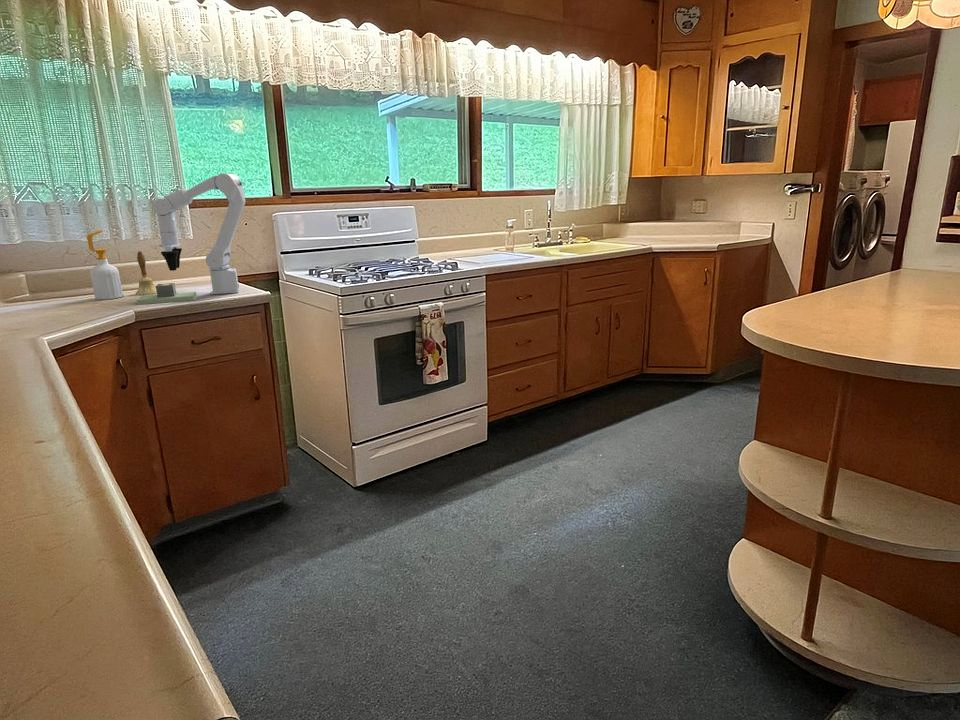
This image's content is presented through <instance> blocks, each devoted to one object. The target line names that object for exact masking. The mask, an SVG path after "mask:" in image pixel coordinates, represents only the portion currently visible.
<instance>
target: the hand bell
mask: <svg viewBox="0 0 960 720" xmlns="http://www.w3.org/2000/svg"><path fill="white" fill-rule="evenodd" d="M136 258H137V259H136V261H137V264H138V266H139V268H140V271H141V278H140V279H138V289H137V291H136V292H135V295H136V296H142V295H155V294H157V291H156V286H155V284H154V283H153V279H152V278H151V277H150V278H149V276H148V274H147V270H146V257H145V256H144V254H143V252H142V251H137V256H136Z"/></svg>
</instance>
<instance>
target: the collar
mask: <svg viewBox="0 0 960 720" xmlns="http://www.w3.org/2000/svg"><path fill="white" fill-rule="evenodd" d="M162 284H163V283H159V284H157V285H156V286H155V288H156V291H157V293H156V294H157V297H158V298H159V297H173V296H175V295H176V293H177V290H176V283H175V282H169V283H167V284H170V285H163V286H159V285H162Z"/></svg>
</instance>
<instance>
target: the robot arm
mask: <svg viewBox="0 0 960 720" xmlns="http://www.w3.org/2000/svg"><path fill="white" fill-rule="evenodd" d="M212 190H219V191H220V192H221V193H222V194H223V195H225V197H226V199H227V200H228V202H229V203H228V205H227V209H226V213H225V214H224V215H225V216H224V218H223V221H222V224H221V226H220V230H219V233H218V235H217V239H216V241H215V243H214V245H213V246H212V248H211V250H210V252H209V253H208V254H207V255H206V256H205V264H206V265H207V266H208V267H209V275H210V281H211V288H212V291H211V293H210V294H211V295H220V294H221V295H222V294H235V293H239V290H240V284H239V279H238V274H237V273H238V272H237V269H236V268H234V267H233V268H231V266H230V265H229V264H230V263H231V259H232V258H231V252H232V247H231V246H232V243H233V241H234V238H235V236H236V235H235V234H236V231H237V229H238V225H239V223H240V221H241V218H242V213H243V212H244V209H245V205H246V197H245V193H244V184H243V182H242V180H241V178H240V177H239V176H238V175H237V174H235V173H225V172H224V173H223V172H221V173H219V174H217V175H213V176H211V177H209V178H206V179H205V180H203V181H201V182H199V183H198V184H196V185H194V186H192V187H191V188H189V189H186V188H179V187H178V188H176V189H175V191H174V192H173V193H170V194H165V195H163V198H160V197H159V198H156V200H154V201H153V204H152V209H153V211H154V213H156V216H157V217H156V218H157V223H158V224H157V225H158V230H159V233H160V241H161V244H158V247H159V248H163V249H164V250H163V251H161V252H160V254H161V255H162V256H163V258H164V260H165V262H166V265H167V267H168V270H169V271H173V272H174V271H177V269H178V268H180V263H181V262H180V261H181V253H182V251H183V248H181V247H180V246H181V244H180V241H179V236H178V229H177V223H176V217H175V212H176V211H178V210H180V209H182V208H184V207H186V206H188V205H190V204H192V203H193V200H194V198H196V197H198V196H200V195H203V194H205V193H207V192H209V191H210V192H211V191H212ZM179 247H180V248H179Z"/></svg>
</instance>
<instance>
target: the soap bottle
mask: <svg viewBox="0 0 960 720" xmlns="http://www.w3.org/2000/svg"><path fill="white" fill-rule="evenodd" d="M103 232H104V231H103V230H101V229H100V230H95V231H93V232H90V233H89V234H87V235H86V238H87V239H86V240H87V244H88V249H89V250H90V251H92V252H95V253H96V255H97V254H98V255H97V256H98V257H96V262H97V264H96V265H95V266H93V267H92V268H91V269H90V270H89V275H90V279H91V284H92V290H93V293H94V298H95V300H98V301H106V300H107V301H109V300H115V299H116V300H117V299H120V298H122V297H123V296H124V292H123V287H122V282H121V276H120V271H119V268H117V267H116V266H114V265H112V264H110V263H109V261H108V258H107V256H105V255H104V254H106V251H109V249H108V248H99V249H98V248H97V249H95V248H94V243H93V236H95V235H98V234H100V233H103Z"/></svg>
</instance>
